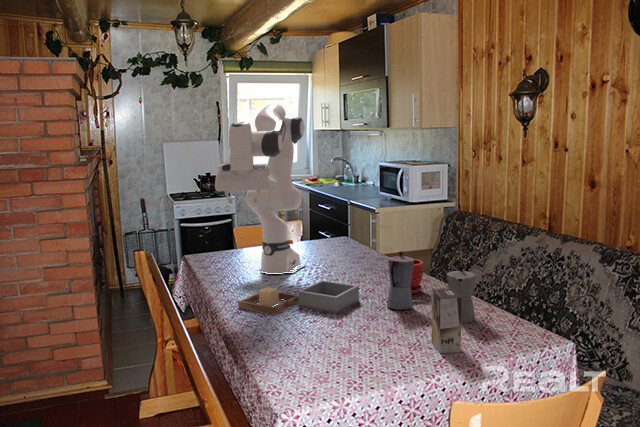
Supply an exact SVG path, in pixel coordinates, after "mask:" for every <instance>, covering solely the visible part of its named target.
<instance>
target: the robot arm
mask: <svg viewBox="0 0 640 427" xmlns="http://www.w3.org/2000/svg"><path fill="white" fill-rule="evenodd" d="M254 125H255V129H256V131H255V130H253V131H252V126H251V123H250V122H248V121H239V122H233V123H231V124H230V126H229V130H228V148H229V151H230V152H229V161H228V162H224V163H222V164H219V165H218V166H217V171H218V172H217V173H216V175H215V181H214V184H215V185H214V188H215V191H216V192H224V195H225V196H226V198H227V203H228V204H233V198H232V197H231V198H230V196H229V194H230V192H240V191H241V192H243V191H247V192H246V195H245V202H246V204H247V206H248V208H249V209H250V210H252V211H253V212H254V213H255V214H256V215H257V217H258V219H259V222H260V224H261V230H262V242H261V246H262V247H261V249H262V252H261V262H260V264H261V265H260V267H261V270H262V271H263V272H267V273H283V272H293V271H290V270H294V269H293V268H295V267H296V266H298V265H300V263H301V257H300V254H299V253H298V252H296V250H294V249H292V247H291V245H293V244H294V240H293V239H288V225H287V223H286V221H285V220H284V219H282V218H280V217H279V216H278V215H277V214H276V212H277V211H278V212H284V211H285V212H289V211H293V210H297V209H299V207H300V206H301V205H302V200H303V195H302V193H301V191H300V189H298V188H297V187H296V186H295V184H294V183H293V180H292V168H293V164H294V162H293V161H294V145H296V144H297V143H298V141H299V140H301V138H303V136H304V134H305V129H306V128H305V122H304V120H303V119H302V117H301V116H296V115H293V116H291V115H287V113H286V110H285V108H284V107H283V106H282V105H281V104H278V103H272V104H268V105H267V106H266V107H264V108H262V110H260V111H259V112H258V113H257V115H256V117H255V120H254ZM254 157H268V161H267V166H266V165H265V164H264V165H263V164H262V165H254ZM269 179H270V180H271V181H272V182H274V183H275V185H270V180H269ZM261 270H260V271H261ZM294 271H295V270H294Z"/></svg>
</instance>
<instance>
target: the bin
mask: <svg viewBox="0 0 640 427" xmlns="http://www.w3.org/2000/svg"><path fill="white" fill-rule="evenodd" d="M359 287H360V286H359V285H355V284H348V283H342V282H335V281H330V280H329V281H328V280H320V281H318V282H316V283H314V284H311V285H309V286H307V287H305V288H302V289H300V290H298V291H297V293H298V294H297V295H298V301H299V303H298V308H299V307H302V308H301V309H305V308H307V309H306V310H310V309H311V311H317V312H323V313H327V314H332V315H338V314H340V313H341V312H344V311H345V310H346V309H348V308H350V307H352V306H353V305H355V304H357V303H359V302H360V288H359Z"/></svg>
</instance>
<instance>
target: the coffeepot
mask: <svg viewBox="0 0 640 427" xmlns="http://www.w3.org/2000/svg"><path fill="white" fill-rule="evenodd" d="M476 278H477V274H475V273H474V272H471V271H466V270H465V267H464V265H459V266H458V270H455V271H454V270H453V271H452V270H451V271H449V272H448V273H446V279H447V287H448V288H447V289H452V290H454V291H455V292H456V293H457V294H458V295H459V296H460V297H461V324H469V323H473V322H474V321H475V319H476V314H475V309H474V308H475V307H474V301H473V300H472V296H473V295H474V291H475V286H476V285H475V284H476Z"/></svg>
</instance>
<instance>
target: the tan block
mask: <svg viewBox="0 0 640 427" xmlns="http://www.w3.org/2000/svg"><path fill="white" fill-rule="evenodd" d="M279 292H280V291H279V288H276V287H270V286H266V287H264V288H262V289H259V290H258V293H259V299H260V300H259V304H260V305H265V306H270V307H272V306H274V305H276V304H278V303H279V304H280V300H279Z"/></svg>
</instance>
